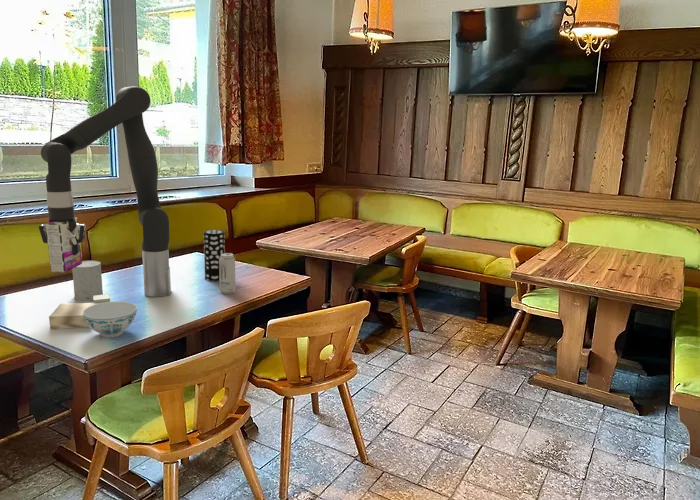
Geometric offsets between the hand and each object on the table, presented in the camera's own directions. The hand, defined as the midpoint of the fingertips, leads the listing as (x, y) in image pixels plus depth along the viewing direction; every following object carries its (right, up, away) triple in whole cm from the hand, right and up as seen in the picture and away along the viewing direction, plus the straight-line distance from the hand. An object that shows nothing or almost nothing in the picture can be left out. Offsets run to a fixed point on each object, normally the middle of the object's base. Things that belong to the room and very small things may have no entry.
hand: (65, 254), depth 176 cm
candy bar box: (0, -5, +1) cm, 5 cm away
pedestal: (+6, -21, -5) cm, 23 cm away
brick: (+10, -19, +5) cm, 22 cm away
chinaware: (+22, -24, -13) cm, 35 cm away
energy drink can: (+47, -15, +30) cm, 58 cm away
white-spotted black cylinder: (+38, -11, +47) cm, 61 cm away
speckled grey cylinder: (-2, -16, +19) cm, 25 cm away
